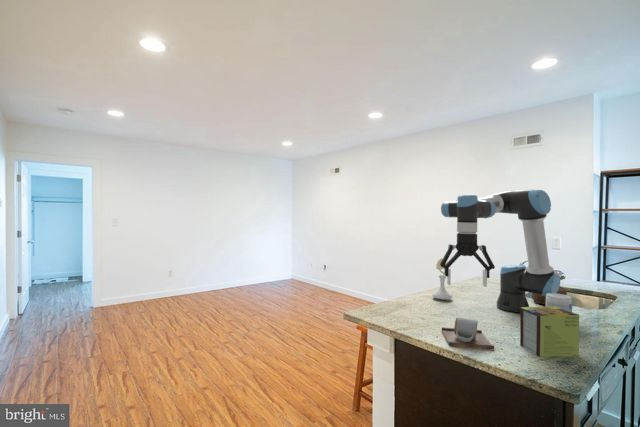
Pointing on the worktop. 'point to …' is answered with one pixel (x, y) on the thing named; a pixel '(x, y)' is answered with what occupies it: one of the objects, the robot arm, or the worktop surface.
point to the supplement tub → (559, 301)
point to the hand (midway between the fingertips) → (466, 285)
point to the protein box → (549, 331)
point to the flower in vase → (441, 285)
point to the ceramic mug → (465, 329)
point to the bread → (542, 299)
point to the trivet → (454, 341)
